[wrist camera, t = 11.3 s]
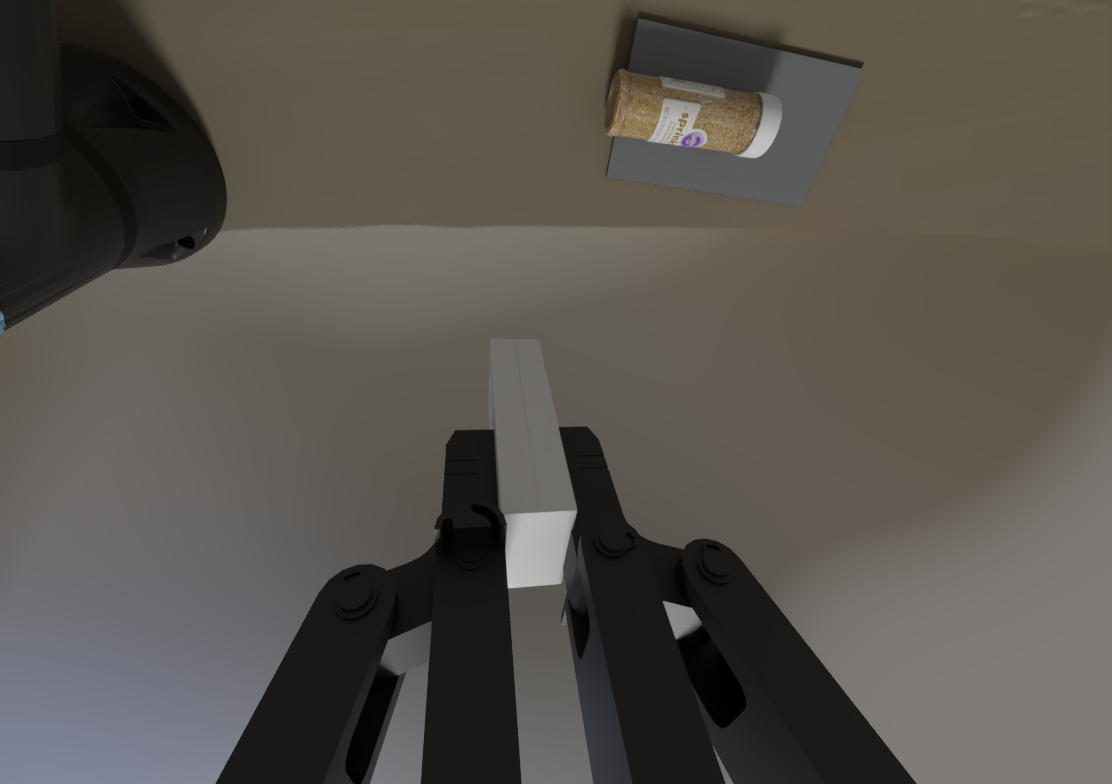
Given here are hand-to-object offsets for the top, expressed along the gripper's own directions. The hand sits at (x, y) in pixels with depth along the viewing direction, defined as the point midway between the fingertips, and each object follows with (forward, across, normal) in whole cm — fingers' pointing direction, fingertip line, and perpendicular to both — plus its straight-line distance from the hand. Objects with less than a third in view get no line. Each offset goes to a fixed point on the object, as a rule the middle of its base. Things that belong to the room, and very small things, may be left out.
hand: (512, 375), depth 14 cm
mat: (+30, +21, +6) cm, 37 cm away
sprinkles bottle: (+28, +9, +6) cm, 30 cm away
